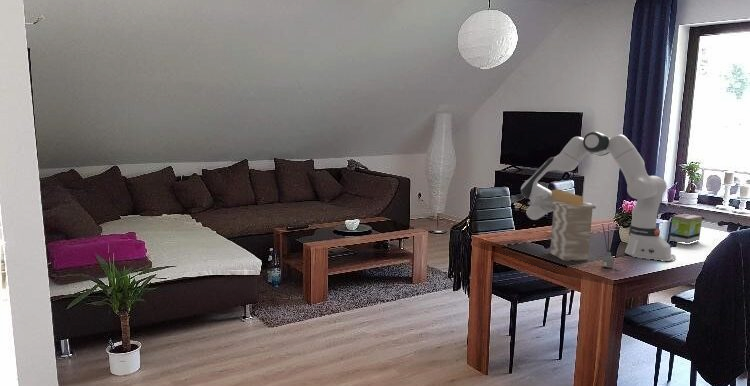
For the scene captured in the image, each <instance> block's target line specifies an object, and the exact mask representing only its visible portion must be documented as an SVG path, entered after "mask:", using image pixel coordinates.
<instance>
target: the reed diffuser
mask: <svg viewBox="0 0 750 386" xmlns="http://www.w3.org/2000/svg"><path fill="white" fill-rule="evenodd" d="M601 226H602V229H603V230H602V231H603V236H604V241H605V245H606V247H605V248H606V255H603V257H602V261H601V262H602V263H601V265H602V267H605V268H610V269H611V268H615V269H616V270H615V269H614V270H615V271H617V270H618V271H620V270H621V267H620V266H619V265H615V264H614V263H615V259H614V257H613V256H612V249H613V246H614V244H615V241H616V239H617V237H618V233H619V231H620V229H621V227H619V228H618V227H617V226H618V225H617V226H616V227H615V231H614V235H613V238H612V241H611V243H610V224H608V226H607V227H608V228H607V229H608V232H607V233H608V238H607V239H606V233H605V228H604V224H603V223H602V224H601ZM617 229H618V231H617ZM607 240H608V241H607ZM609 243H610V244H611V245H610V244H609ZM609 246H610V249H609ZM614 265H615V266H614Z"/></svg>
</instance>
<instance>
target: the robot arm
mask: <svg viewBox="0 0 750 386" xmlns="http://www.w3.org/2000/svg"><path fill="white" fill-rule="evenodd" d="M588 154H591V155H595V156H598V157H599V156H600V157H602V156H606V155H608V154H610V156H612V158H613V159H614V161H615V163H616V164H617V166H618V168H619V169H620V171H621V172H622V174H623V176H624V179H625V182H626V184H627V186H626V191H627V194H628V196H629V197H631V198H632V199H635V200H636V202H635V205H634V206H633V208H632V211H631V213H632V220H631V224H629V225H630V226H629V227H628V228H629V229H628V235H629V237H628V241H627V244H626V248H625V251H624V253H625V254H627V255H629V256H632V257H633V258H635V257H637V259H642V258H646V259H645V260H650V259H654V260H653V261H657V260H663V261H662V262H665V261H671V260H673V259H675V258H676V255H675V254H672V249H671V245H670V243H668V242H667V241H666V240H664V238H662V236H661V235H660V234H661V229H659V228H658V227H657V228H658V229H657V228H656V226H657V219H658V218H657V217H658V211H659V209H660V205H661V202H662V199H663V196H664V194H665V192H666V190H667V189H668V187H667V186H668V185H667V183H666V180H665V179H664V178H662V177H660V176H657V175H649V174H648V173H647V172H648V171H647V170H646V166H645V165H646V164H645V163H646V162H645V161H644V159H643V157H642V156H641V154H640V152H638V149H637V148H636V147H635V145H634V144H633V143H632V141H630V139H628V137H627V136H625V135H624V134H620V133H619V134H615V135H613V136H611V137H608V136H607V135H606V134H604V133H601V132H599V131H591V132H588V133H586V135H585V136H583V137H582V136H574V137H572V138H570V140H569V141H568V143H566V145H565V146H564V147H563V148H562V150H561V151H560V153H559V154H557V155H556V156H551V157H549V158H548V159H547V160H546V161H545V162H543V163H542V164H541V165H540V166H539V168H538V169H536V171H535V172H534V173H533V174H532V175H531V176H530V177H529V178H528V179H527V180H526V181H524V183H522V184H521V187H520V193H521V195H522V197H524V198H526V199H528V200H530V201H528V202H527V205H529V206H528V207H527V209H526V212H525V213H526V216H527V218H529V219H530V220H532V221H533V220H534V221H538V220H539V219H541V218H543V217H545V215H546V214H548V213H551V212H552V213H553V208H554V204H553V203H551V201H560V200H557V199H554V198H551V197H552V190H551V189H549V188H547V187H545V186H543V185H541V184H540V183H538V182H539V181H540V180H541V179H542V178H543V177H544V175H545V174H546V173H547V172H549V171H558V172H565V173H566V172H571V171H573V170H575V169H576V168H577V167H578V166H579V164H580V163H581V162H582V160H583V159H584V157H585V156H586V155H588ZM675 260H676V259H675ZM671 262H672V261H671Z"/></svg>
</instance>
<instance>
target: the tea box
mask: <svg viewBox="0 0 750 386" xmlns="http://www.w3.org/2000/svg"><path fill="white" fill-rule="evenodd" d="M702 221H703V216H702V215H695V214H689V213H682V214H676V215H672V219H671V228H670V236H669V242H670V241H676V242H685V243H690V242H693V241H696V240H699V241H700V237H701V229H702Z"/></svg>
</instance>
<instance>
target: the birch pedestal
mask: <svg viewBox="0 0 750 386" xmlns="http://www.w3.org/2000/svg"><path fill="white" fill-rule="evenodd" d="M551 203H553V204H554V208H553V211H552V223H551V225H552V226H551V239H550V250H549V251H550V252H549V253H550V254H551V255H553V256H554V257H556V258H559V259H561V260H562V261H564V260H565V262H568V261H569V262H571V261H570V260H575V261H589V253H590V243H591V242H590V240H591V230H592V219H593V209H594V210H595V209H597V207H596V206H595V205H593V204H592V205H590V204H586V203H587V202H584V203H583V205H572V204H569V203H566V202H563V201H551Z"/></svg>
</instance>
